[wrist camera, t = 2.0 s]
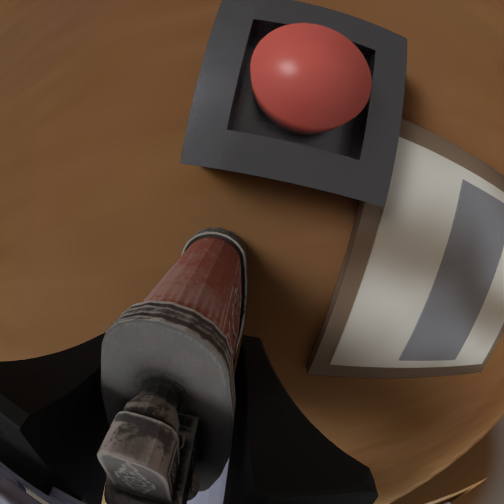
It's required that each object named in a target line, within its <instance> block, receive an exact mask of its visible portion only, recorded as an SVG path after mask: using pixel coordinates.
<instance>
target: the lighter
mask: <svg viewBox="0 0 504 504" xmlns="http://www.w3.org/2000/svg"><path fill="white" fill-rule="evenodd" d="M247 289H248V276H247V252H246V248H245V245H244V243H243V242H242V241H241V239H240V238H239V237H238V236H237V235H235V234H234V233H232V232H231V231H229V230H226V229H223V228H207V229H203V230H200V231H199V232H197V233H196V234H195V235H193V236H192V237H191V238H190V239H189V240H188V241H187V243H186V245H185V247H184V249H183V251H182V255H181V257H180V258H179V259H178V260H177V261H176V263H175V264H174V265H173V266H172V267H171V268H170V270H169V271H168V272H167V273H166V274H165V275H164V277H163V278H162V279H161V280H160V281H159V283H158V284H157V285H156V286H155V287H154V289H153V290H152V291H151V292H150V293H149V295H148V296H147V297H146V298H145V300H144V301H143V302H141V303H137V304H133V305H132V306H131V307H129V308H128V309H127V310H126V311H124V312H123V313H122V314H121V315H120V316H119V317H118V318H117V319H116V321H115V322H114V323H113V324H112V325H111V327H110V328H109V329H108V330H107V331H106V333H105V336H104V339H103V342H102V351H101V391H102V396H103V401H104V406H105V410H106V415H107V419H108V423H109V426H110V428H109V430H108V432H107V434H106V436H105V438H104V440H103V443H102V445H101V447H100V449H99V451H98V453H97V457H98V460H99V462H100V463H101V465H102V467H103V468H104V470H105V472H106V485H105V493H104V496H105V501H106V503H107V504H187V501H189V500H192V499H193V498H194V497H195V496H196V495H197V493H198V492H200V491H205V490H207V489H209V488H210V487H211V486H212V485H213V484H214V483H215V481H216V480H217V479H218V478H219V477H220V476H221V474H222V472H223V470H224V467H225V465H226V463H227V461H228V459H229V457H230V452H231V443H232V433H233V423H234V413H235V403H236V396H235V385H234V374H233V370H234V362H235V355H236V352H237V348H238V345H239V341H240V338H241V334H242V331H243V327H244V318H245V309H246V299H247Z"/></svg>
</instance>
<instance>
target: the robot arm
mask: <svg viewBox="0 0 504 504" xmlns="http://www.w3.org/2000/svg"><path fill="white" fill-rule="evenodd" d="M104 336H105V333H104V334H101V335H99V336H97V337H95V338H93V339H91V340H89V341H87V342H85V343H82V344H80V345H78V346H75V347H72V348H69V349H67V350H64V351H61V352H57V353H53V354H50V355H45V356H41V357H37V358H32V359H26V360H18V361H5V362H0V504H42V503H40V502H39V501H37V500H36V499H34V498H33V497H31V496H30V495H29V494H27V493H26V489H25V488H27V489H28V490H30V491H31V492H33V493H34V494H35V495H37V496H38V497H40V498H42V499H43V500H45V501H46V502H48V503H50V504H101V502H102V496H103V491H104V486H105V482H106V472H105V470H104V468H103V467H102V465H101V463H100V462H99V460H98V457H97V453H98V451H99V449H100V447H101V445H102V443H103V440H104V438H105V436H106V434H107V432H108V430H109V428H110V426H109V423H108V419H107V415H106V410H105V406H104V401H103V396H102V391H101V351H102V342H103V339H104ZM234 385H235V396H236V403H235V413H234V423H233V433H232V443H231V452H230V457H229V459H228V461H227V463H226V465H225V467H224V470H223V472H222V474H221V476H220V477H219V478H218V479H217V480H216V481H215V483H214V484H213V485H212V486H211V487H210V488H209V489H207V490H205V491H200V492H198V493H197V495H196V496H195V497H194V498H193V499H192V500H189V501H187V504H373V503H374V502H375V500H376V499H377V497H378V493H377V489H376V485H375V482H374V479H373V476H372V474H371V471H370V469H369V468H368V467H367V466H365V465H363V464H362V463H360V462H359V461H357V460H355V459H354V458H352V457H351V456H349V455H348V454H346V453H345V452H343V451H342V450H341V449H339V448H338V447H337V446H336V445H334V444H333V443H332V442H331V441H329V440H328V439H327V438H326V437H325V436H324V435H323V434H322V433H321V432H320V431H319V430H318V429H317V428H316V427H315V426H314V425H313V424H312V423H311V422H310V421H309V420H308V419H307V418H306V417H305V416H304V415H303V413H302V412H301V411H300V410H299V408H298V407H297V406H296V405H295V403H294V402H293V400H292V399H291V398H290V396H289V395H288V393H287V392H286V390H285V388H284V387H283V385H282V384H281V382H280V380H279V378H278V377H277V375H276V373H275V371H274V369H273V367H272V365H271V363H270V361H269V359H268V356H267V354H266V352H265V349H264V346H263V344H262V341H261V339H260V338H257V337H251V336H245V335H243V339H242V344H241V348H240V353H239V357H238V361H237V366H236V370H235V375H234ZM24 487H25V488H24ZM445 504H450V502H447V503H445Z"/></svg>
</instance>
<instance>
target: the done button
mask: <svg viewBox="0 0 504 504" xmlns="http://www.w3.org/2000/svg"><path fill="white" fill-rule="evenodd" d="M250 73H251V82H252V90H253V95H254V98H255V101H256V103H257V105H258V107H259V108H260V110H261V111H262V112H263V114H264V115H265V116H266V117H267V118H268V119H269V120H270V121H272V122H273V123H274V124H276V125H277V126H279V127H281V128H283V129H285V130H287V131H290V132H294V133H298V134H305V135H314V134H321V133H325V132H328V131H330V130H332V129H334V128H336V127H338V126H340V125H342V124H344V123H346V122H348V121H350V120H351V119H353V118H354V117H356V116H357V115H358V114H359V113H360V112H361V111H362V110H363V108H364V107H365V105H366V104H367V102H368V99H369V97H370V93H371V86H372V80H371V73H370V69H369V66H368V64H367V61H366V59H365V58H364V56H363V54H362V53H361V51H360V50H359V49H358V48H357V47H356V46H355V44H354V43H352V42H351V41H350V40H349V39H348V38H346V37H345V36H344V35H342V34H340V33H339V32H337V31H335V30H333V29H331V28H328V27H325V26H322V25H318V24H312V23H294V24H289V25H285V26H282V27H279V28H277V29H275V30H273V31H271V32H270V33H268V34H267V35H266V36H265V37H264V38H263V39H262V40H261V41H260V42H259V43H258V45H257V46H256V48H255V50H254V52H253V55H252V58H251V64H250Z"/></svg>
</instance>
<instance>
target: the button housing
mask: <svg viewBox="0 0 504 504" xmlns="http://www.w3.org/2000/svg"><path fill="white" fill-rule="evenodd" d="M294 23H312V24H318V25H322V26H325V27H328V28H331V29H333V30H335V31H337V32H339V33H340V34H342V35H344V36H345V37H346V38H348V39H349V40H350V41H351V42H352V43H354V44H355V46H356V47H357V48H358V49H359V50H360V51H361V53H362V54H363V56H364V58H365V59H366V61H367V64H368V66H369V69H370V73H371V80H372V86H371V93H370V97H369V99H368V102H367V104H366V105H365V107H364V108H363V110H362V111H361V112H360V113H359V114H358V115H357V116H356V117H354V118H353V119H351V120H350V121H348V122H346V123H344V124H342V125H340V126H338V127H336V128H334V129H332V130H330V131H328V132H325V133H321V134H314V135H305V134H298V133H294V132H290V131H287V130H285V129H283V128H281V127H279V126H277V125H276V124H274V123H273V122H272V121H270V120H269V119H268V118H267V117H266V116H265V115H264V114H263V112H262V111H261V110H260V108H259V107H258V105H257V103H256V101H255V98H254V95H253V90H252V82H251V73H250V64H251V58H252V55H253V52H254V50H255V48H256V46H257V45H258V43H259V42H260V41H261V40H262V39H263V38H264V37H265V36H266V35H267V34H268V33H270V32H271V31H273V30H275V29H277V28H279V27H282V26H285V25H289V24H294ZM406 64H407V38H404V37H402V36H400V35H398V34H396V33H394V32H392V31H389V30H387V29H385V28H382V27H380V26H377V25H375V24H372V23H370V22H367V21H364V20H362V19H359V18H356V17H353V16H350V15H347V14H344V13H341V12H338V11H334V10H331V9H327V8H324V7H320V6H316V5H312V4H308V3H303V2H298V1H294V0H222V1H221V4H220V7H219V10H218V13H217V16H216V19H215V22H214V25H213V28H212V31H211V35H210V38H209V41H208V45H207V48H206V51H205V55H204V58H203V62H202V66H201V69H200V73H199V77H198V81H197V85H196V89H195V93H194V97H193V102H192V106H191V110H190V115H189V120H188V124H187V129H186V134H185V139H184V144H183V150H182V155H181V161H180V163H182V164H189V165H196V166H203V167H209V168H215V169H221V170H227V171H233V172H239V173H244V174H249V175H255V176H260V177H265V178H270V179H275V180H279V181H284V182H289V183H293V184H298V185H302V186H306V187H310V188H315V189H319V190H323V191H327V192H331V193H335V194H339V195H342V196H346V197H350V198H353V199H357V200H361V201H364V202H368V203H371V204H375V205H378V206H381V207H385V204H386V200H387V196H388V191H389V187H390V182H391V177H392V173H393V168H394V162H395V157H396V151H397V146H398V139H399V133H400V126H401V119H402V111H403V102H404V92H405V80H406Z"/></svg>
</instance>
